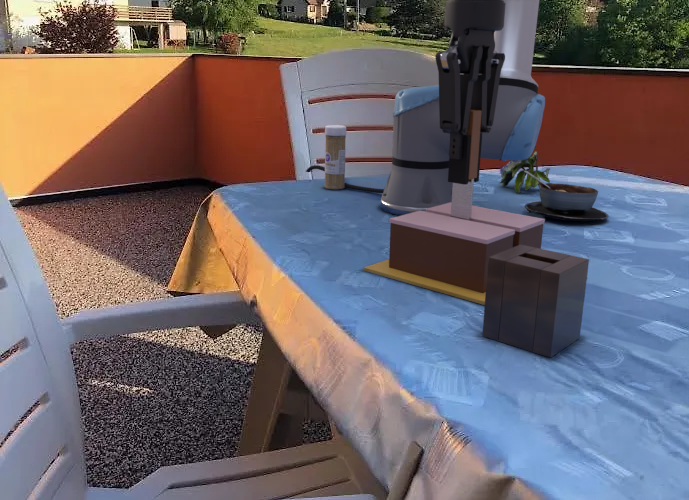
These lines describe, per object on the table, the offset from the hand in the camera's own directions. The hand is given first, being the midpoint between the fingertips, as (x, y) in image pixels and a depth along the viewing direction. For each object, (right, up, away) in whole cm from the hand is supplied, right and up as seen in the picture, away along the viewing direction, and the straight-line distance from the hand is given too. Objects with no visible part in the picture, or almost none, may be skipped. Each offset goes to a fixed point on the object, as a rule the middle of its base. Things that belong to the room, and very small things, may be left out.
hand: (463, 181), depth 96 cm
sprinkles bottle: (-18, +4, +58) cm, 61 cm away
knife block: (+4, -19, -19) cm, 27 cm away
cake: (+1, -12, +3) cm, 13 cm away
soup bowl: (+25, -3, +36) cm, 44 cm away
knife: (0, -11, +3) cm, 11 cm away
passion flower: (+23, +4, +61) cm, 65 cm away
